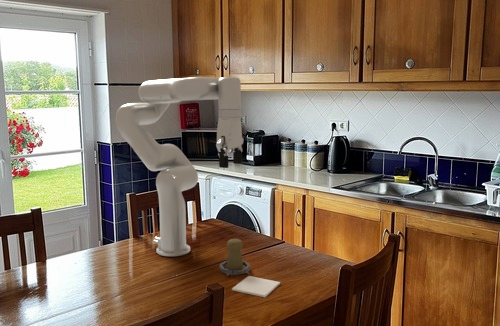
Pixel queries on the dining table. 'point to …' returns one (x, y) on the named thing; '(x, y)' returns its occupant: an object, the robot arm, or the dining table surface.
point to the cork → (234, 255)
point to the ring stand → (229, 271)
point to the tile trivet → (256, 286)
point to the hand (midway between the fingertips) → (230, 165)
